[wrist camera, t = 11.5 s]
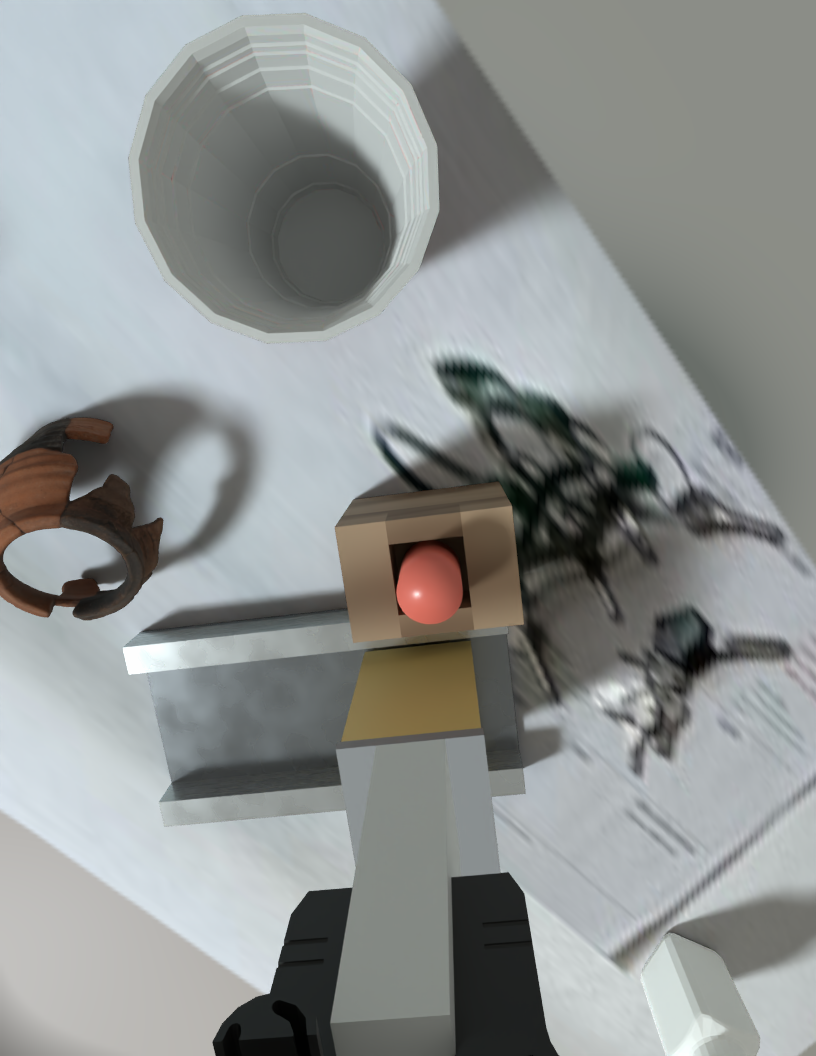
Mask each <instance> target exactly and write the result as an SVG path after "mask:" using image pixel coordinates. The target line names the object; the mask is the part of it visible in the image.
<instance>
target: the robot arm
mask: <svg viewBox="0 0 816 1056" xmlns="http://www.w3.org/2000/svg"><path fill="white" fill-rule="evenodd" d="M213 1046H214V1050H215V1055H216V1056H559V1055H558V1054H557V1052H556V1050H555V1048H554V1047H553V1045H552V1043H551V1042H550V1039H549V1035H548V1032H547V1029H546V1024H545V1018H544V1011H543V1005H542V999H541V993H540V987H539V981H538V975H537V969H536V963H535V957H534V950H533V945H532V938H531V932H530V926H529V920H528V914H527V908H526V902H525V895H524V893H523V891H522V890H521V888H520V887H519V886H518V884H517V883H516V882H515V880H514V879H513V878H512V876H511V875H510V874H509V872H507V873H496V874H484V875H472V876H461V869H460V849H459V841H458V834H457V826H456V819H455V811H454V804H453V796H452V789H451V781H450V774H449V766H448V759H447V751H446V744H445V739H440V740H430V741H420V742H410V743H400V744H390V745H380V746H376V749H375V755H374V761H373V767H372V773H371V779H370V785H369V791H368V797H367V803H366V809H365V815H364V821H363V827H362V834H361V840H360V846H359V852H358V858H357V864H356V870H355V876H354V882H353V888H342V889H331V890H319V891H309V892H308V893H307V894H306V896H305V897H304V898H303V900H302V901H301V902H300V904H299V905H298V906H297V908H296V909H295V910H294V912H293V913H292V914H291V917H290V921H289V924H288V928H287V932H286V936H285V939H284V946H283V947H282V950H281V954H280V958H279V962H278V968H277V969H276V973H275V976H274V980H273V984H272V988H271V991H270V994H266V995H262V996H258V997H255V998H254V999H252V1000H250V1001H248V1002H247V1003H245V1004H243V1005H241V1006H240V1007H238V1008H237V1009H236V1010H235V1011H234V1012H233V1013H232V1014H231V1015H230V1016H229V1017H228V1018H227V1019H226V1020H225V1021H224V1022H223V1023H222V1025H221V1027H220V1029H219V1031H218V1033H217V1035H216V1037H215V1038H214V1040H213Z"/></svg>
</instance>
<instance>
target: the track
mask: <svg viewBox="0 0 816 1056" xmlns="http://www.w3.org/2000/svg"><path fill="white" fill-rule="evenodd" d="M506 634H508V626H504V627H495V628H486V629H477V630H468V631H458V632H449V633H440V634H431V635H422V636H412V637H403V638H394V639H385V640H376V641H367V642H357V643H353V639H352V633H351V626H350V620H349V614H348V609H339V610H330V611H321V612H312V613H303V614H294V615H286V616H277V617H268V618H259V619H250V620H241V621H232V622H223V623H214V624H206V625H197V626H188V627H179V628H170V629H161V630H152V631H143V632H140V633H139V634H138V635H137V636H135V637H134V638H133V639H132V640H131V641H130V642H129V643H127V644H126V645H125V646H124V647H123V651H124V656H125V660H126V664H127V669H128V673H129V675H130V674H139V673H147V676H148V681H149V685H150V689H151V694H152V698H153V703H154V707H155V711H156V716H157V720H158V724H159V729H160V733H161V738H162V742H163V746H164V751H165V755H166V760H167V764H168V768H169V773H170V777H171V781H172V783H171V785H170V786H169V788H168V789H167V791H166V792H165V794H164V795H163V797H162V798H161V800H160V801H159V805H160V810H161V814H162V818H163V822H164V827H168V826H179V825H190V824H200V823H211V822H222V821H233V820H244V819H255V818H266V817H277V816H288V815H299V814H310V813H320V812H331V811H342V810H346V807H345V801H344V795H343V789H342V784H341V778H340V772H339V766H338V760H337V754H336V747H337V743H338V742H341V740H342V736H343V732H344V729H345V725H346V721H347V717H348V713H349V710H350V706H351V702H352V698H353V695H354V691H355V687H356V683H357V680H358V676H359V672H360V668H361V664H362V661H363V657H364V653H365V652H368V651H377V650H387V649H396V648H405V647H415V646H424V645H433V644H442V643H452V642H461V641H470V640H471V648H472V656H473V664H474V673H475V681H476V689H477V698H478V706H479V714H480V722H481V728H483V730H484V739H485V747H486V755H487V764H488V772H489V780H490V789H491V797H495V796H506V795H517V794H526V792H525V783H524V774H523V766H522V762H521V757H520V752H519V745H518V736H517V727H516V718H515V709H514V699H513V690H512V681H511V672H510V663H509V653H508V644H507V635H506Z"/></svg>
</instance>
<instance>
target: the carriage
mask: <svg viewBox="0 0 816 1056" xmlns="http://www.w3.org/2000/svg"><path fill="white" fill-rule="evenodd" d="M440 739H445V744H446V751H447V759H448V766H449V774H450V781H451V789H452V796H453V804H454V811H455V819H456V826H457V834H458V841H459V849H460V869H461V876H472V875H484V874H496V873H501V872H500V864H499V856H498V847H497V839H496V831H495V822H494V814H493V806H492V797H491V789H490V780H489V772H488V764H487V755H486V747H485V739H484V730H483V728H481V722H480V714H479V706H478V698H477V689H476V681H475V673H474V664H473V656H472V648H471V640H470V641H461V642H452V643H442V644H433V645H424V646H415V647H405V648H396V649H387V650H377V651H368V652H365V653H364V657H363V661H362V664H361V668H360V672H359V676H358V680H357V683H356V687H355V691H354V695H353V698H352V702H351V706H350V710H349V713H348V717H347V721H346V725H345V729H344V732H343V736H342V740H341V742H338V743H337V747H336V754H337V760H338V766H339V772H340V778H341V784H342V789H343V795H344V801H345V807H346V813H347V819H348V825H349V831H350V836H351V842H352V848H353V854H354V860H355V866H356V864H357V858H358V852H359V846H360V840H361V834H362V827H363V821H364V815H365V809H366V803H367V797H368V791H369V785H370V779H371V773H372V767H373V761H374V755H375V749H376V746H380V745H390V744H400V743H410V742H420V741H430V740H440Z"/></svg>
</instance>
